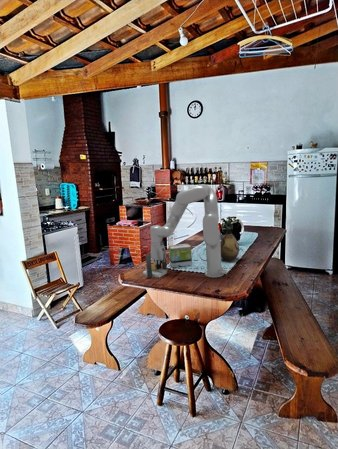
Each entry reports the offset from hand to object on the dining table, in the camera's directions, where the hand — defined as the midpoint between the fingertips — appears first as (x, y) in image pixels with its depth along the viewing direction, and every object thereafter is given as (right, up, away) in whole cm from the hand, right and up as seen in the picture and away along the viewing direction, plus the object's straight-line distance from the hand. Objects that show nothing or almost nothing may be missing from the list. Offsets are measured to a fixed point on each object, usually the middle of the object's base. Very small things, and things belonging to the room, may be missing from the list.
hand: (159, 269), depth 211 cm
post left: (-6, -5, -6) cm, 10 cm away
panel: (-3, -3, 0) cm, 4 cm away
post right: (+4, -1, +8) cm, 9 cm away
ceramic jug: (+52, +4, +19) cm, 56 cm away
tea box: (+16, +1, +15) cm, 22 cm away
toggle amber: (-3, -1, +2) cm, 4 cm away
